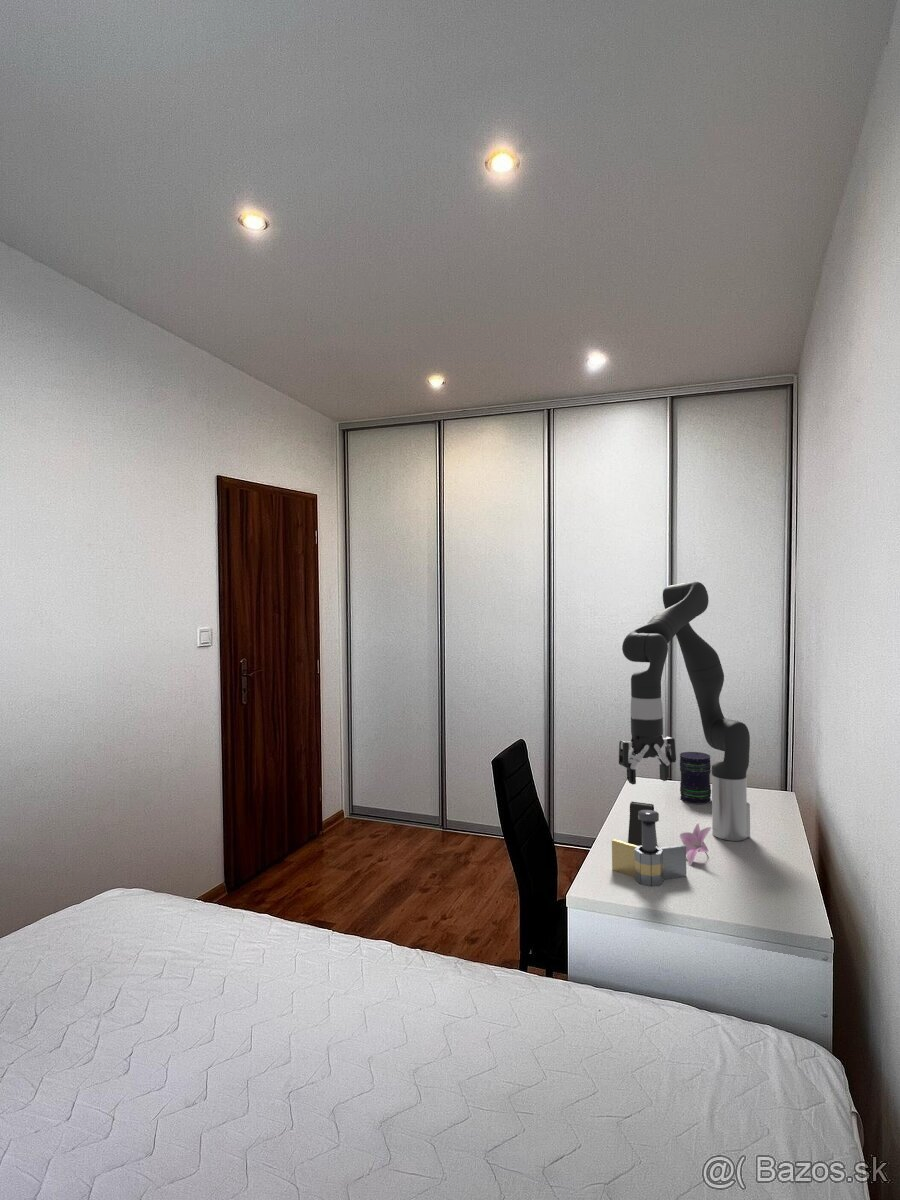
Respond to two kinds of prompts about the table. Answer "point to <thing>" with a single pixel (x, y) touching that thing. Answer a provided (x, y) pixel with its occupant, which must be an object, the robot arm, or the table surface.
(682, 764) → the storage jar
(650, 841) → the hinge pin
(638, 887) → the table surface
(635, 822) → the phone stand
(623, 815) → the table surface
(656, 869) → the hinge
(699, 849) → the lily
